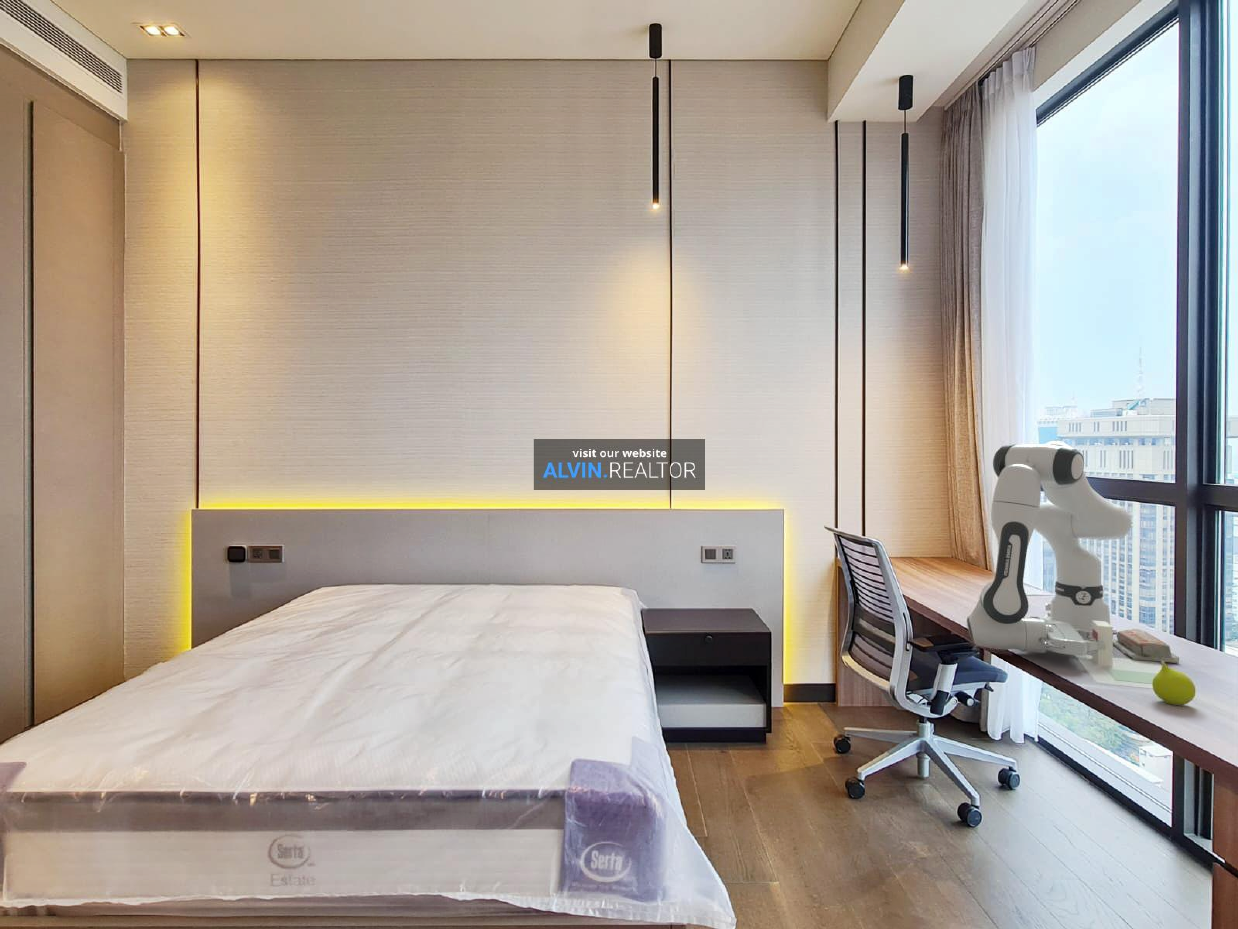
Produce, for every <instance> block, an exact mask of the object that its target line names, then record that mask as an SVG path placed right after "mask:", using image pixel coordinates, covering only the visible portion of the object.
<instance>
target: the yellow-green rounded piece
mask: <svg viewBox="0 0 1238 929" xmlns="http://www.w3.org/2000/svg"><path fill="white" fill-rule="evenodd" d="M1160 664H1161V665H1162V669H1161V670H1160V672H1159V673H1158V674H1157V675H1156V676H1155V677H1154V679H1153V683H1152V685H1153V689H1152V690H1153V691H1154V693H1155V695H1156V697H1158V698H1159V699H1160V700H1161V701H1163V702H1165V703H1167V704H1170V705H1174V706H1183V705H1186V704H1187V705H1188V704H1189V703H1190V702H1191V701H1193V699H1194V698H1195V697H1196V693H1197V692H1196V687H1195V686H1196V685H1195V684H1194V682H1193V681H1192V679H1191V678H1190V677H1189V676H1188V675H1186V674H1184V673H1183V672H1181V671H1178V670H1175V669H1173V668H1170V667H1169V666H1167V664H1166V662H1164V661H1161V662H1160Z"/></svg>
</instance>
